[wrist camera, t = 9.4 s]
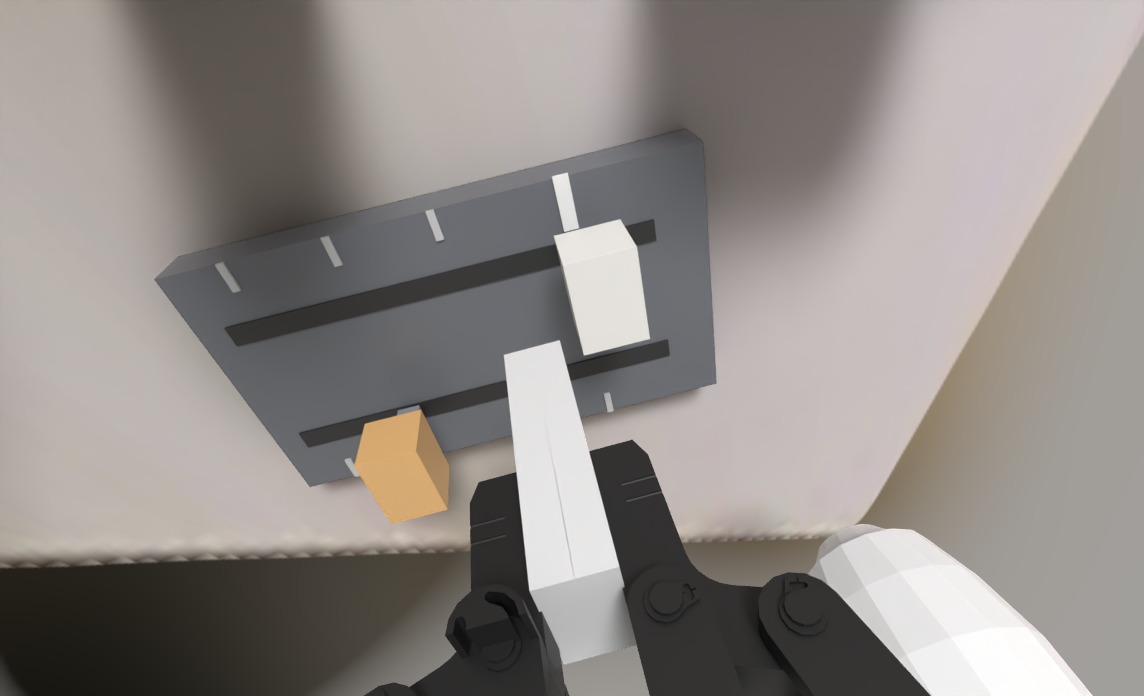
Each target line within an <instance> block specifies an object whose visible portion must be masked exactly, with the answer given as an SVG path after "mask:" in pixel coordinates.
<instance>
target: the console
mask: <svg viewBox="0 0 1144 696" xmlns="http://www.w3.org/2000/svg"><path fill="white" fill-rule="evenodd" d="M619 219H620V220H621V221H622V223H623V225H624V226H625V228H626V230H627V231H628V233H629V235H630V236H631V238H632V240H633V241H634V243H635V244H636V246H637V250H638V257H639V264H640V272H641V279H642V286H643V293H644V300H645V307H646V314H647V321H648V328H649V335H650V339H648V340H644V341H640V342H636V343H632V344H628V345H624V346H620V347H616V348H612V349H608V350H604V351H600V352H596V353H593V354H589V355H585V356H584V354H583V350H582V347H581V343H580V340H579V337H578V333H577V330H576V326H575V323H574V319H573V315H572V311H571V306H570V302H569V298H568V294H567V290H566V285H565V281H564V277H563V273H562V269H561V264H560V260H559V256H558V252H557V248H556V243H555V239H554V236H555V235H559V234H563V233H567V232H571V231H575V230H579V229H583V228H587V227H591V226H595V225H599V224H603V223H607V222H611V221H615V220H619ZM154 280H155V281H156V282H157V284H158V285H159V286H160V288H161V289H162V290H163V292H164V293H165V294H166V296H167V297H168V298H169V300H170V301H171V302H172V304H173V305H174V306H175V308H176V309H177V310H178V312H179V313H180V314H181V316H182V317H183V318H184V320H185V321H186V322H187V324H188V325H189V326H190V328H191V329H192V330H193V332H194V333H195V334H196V336H197V337H198V338H199V340H200V341H201V342H202V344H203V345H204V346H205V348H206V349H207V350H208V352H209V353H210V354H211V356H212V357H213V358H214V360H215V361H216V362H217V364H218V365H219V366H220V368H221V369H222V370H223V372H224V373H225V374H226V376H227V377H228V378H229V380H230V381H231V382H232V384H233V385H234V386H235V388H236V389H237V390H238V392H239V393H240V394H241V396H242V397H243V398H244V400H245V401H246V402H247V404H248V405H249V406H250V408H251V409H252V410H253V412H254V413H255V414H256V416H257V417H258V418H259V420H260V421H261V422H262V424H263V425H264V426H265V428H266V429H267V430H268V432H269V433H270V434H271V436H272V437H273V438H274V440H275V441H276V442H277V444H278V445H279V446H280V448H281V449H282V450H283V452H284V453H285V454H286V456H287V457H288V458H289V460H290V461H291V462H292V464H293V465H294V466H295V468H296V469H297V470H298V472H299V473H300V474H301V476H302V477H303V478H304V480H305V481H306V482H307V484H308V485H309V486H310V487H312V486H316V485H320V484H323V483H327V482H331V481H335V480H339V479H343V478H347V477H351V476H355V477H358V476H360V475H359V473H358V472H357V470H356V469H355V467H354V465H355V461H356V457H357V453H358V449H359V445H360V441H361V437H362V433H363V429H364V425H365V424H366V423H370V422H374V421H378V420H382V419H386V418H390V417H394V416H397V412H398V410H402V409H406V408H410V407H414V406H417V405H419V406H420V408H421V410H422V412H423V414H424V416H425V418H426V420H427V422H428V424H429V426H430V428H431V430H432V432H433V434H434V436H435V438H436V440H437V442H438V444H439V446H440V448H441V450H442V452H443V453H445V452H449V451H453V450H457V449H461V448H465V447H469V446H473V445H477V444H480V443H484V442H488V441H492V440H496V439H500V438H504V437H508V436H512V426H511V416H510V407H509V398H508V389H507V379H506V370H505V361H504V355H505V354H509V353H513V352H517V351H521V350H524V349H528V348H532V347H536V346H539V345H543V344H547V343H551V342H555V341H558V340H560V343H561V347H562V351H563V355H564V358H565V362H566V366H567V370H568V373H569V377H570V381H571V385H572V389H573V392H574V396H575V400H576V404H577V407H578V411H579V415H580V418H583V417H586V416H590V415H594V414H598V413H602V412H606V411H608V413H609V412H613V411H614V409H618V408H622V407H626V406H630V405H634V404H638V403H641V402H645V401H649V400H653V399H657V398H661V397H665V396H669V395H673V394H677V393H681V392H685V391H689V390H692V389H696V388H700V387H704V386H708V385H712V384H716V365H715V347H714V329H713V310H712V292H711V274H710V256H709V237H708V219H707V201H706V182H705V164H704V146H703V140H701V139H700V138H698V137H697V136H696V135H694V134H693V133H691V132H690V131H688V130H687V129H683V130H679V131H675V132H671V133H667V134H663V135H659V136H655V137H651V138H647V139H643V140H639V141H635V142H631V143H627V144H624V145H620V146H616V147H612V148H608V149H604V150H600V151H596V152H592V153H588V154H584V155H580V156H576V157H572V158H568V159H564V160H560V161H556V162H552V163H548V164H544V165H540V166H536V167H532V168H528V169H524V170H520V171H516V172H512V173H508V174H504V175H500V176H496V177H492V178H488V179H485V180H481V181H477V182H473V183H469V184H465V185H461V186H457V187H453V188H449V189H445V190H441V191H437V192H433V193H429V194H425V195H421V196H417V197H413V198H409V199H405V200H401V201H397V202H393V203H389V204H385V205H381V206H377V207H373V208H369V209H365V210H361V211H357V212H353V213H349V214H346V215H342V216H338V217H334V218H330V219H326V220H322V221H318V222H314V223H310V224H306V225H302V226H298V227H294V228H290V229H286V230H282V231H278V232H274V233H270V234H266V235H262V236H258V237H254V238H250V239H246V240H242V241H238V242H234V243H230V244H226V245H222V246H218V247H214V248H210V249H207V250H203V251H199V252H195V253H191V254H187V255H183V256H179V257H178V258H176V259H175V260H174V261H173V262H172V263H171V264H170V265H169V266H168V267H167V268H166V269H165V270H164V271H163V272H162V273H160V274H159V275H158V276H157V277H156V278H155V279H154Z"/></svg>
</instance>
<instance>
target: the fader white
mask: <svg viewBox="0 0 1144 696" xmlns="http://www.w3.org/2000/svg"><path fill="white" fill-rule="evenodd" d="M554 239H555V243H556V248H557V252H558V256H559V260H560V264H561V269H562V273H563V277H564V281H565V285H566V290H567V294H568V298H569V302H570V306H571V311H572V315H573V319H574V323H575V326H576V330H577V333H578V337H579V340H580V343H581V347H582V350H583V354H584V356H585V355H589V354H593V353H596V352H600V351H604V350H608V349H612V348H616V347H620V346H624V345H628V344H632V343H636V342H640V341H644V340H648V339H650V335H649V328H648V321H647V314H646V307H645V300H644V293H643V286H642V279H641V272H640V264H639V257H638V250H637V246H636V244H635V243H634V241H633V240H632V238H631V236H630V235H629V233H628V231H627V230H626V228H625V226H624V225H623V223H622V221H621V220H620V219H619V220H615V221H611V222H607V223H603V224H599V225H595V226H591V227H587V228H583V229H579V230H575V231H571V232H567V233H563V234H559V235H555V236H554Z"/></svg>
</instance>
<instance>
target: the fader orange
mask: <svg viewBox="0 0 1144 696" xmlns="http://www.w3.org/2000/svg"><path fill="white" fill-rule="evenodd" d="M354 467H355V469H356V470H357V472H358V473H359V475H360V477H361V478H362V480H363V481H364V483H365V484H366V486H367V487H368V489H369V490H370V492H371V493H372V495H373V496H374V498H375V499H376V501H377V503H378V504H379V506H380V507H381V509H382V510H383V512H384V513H385V515H386V516H387V518H388V519H389V521H390V522H391V524H394V523H398V522H402V521H406V520H410V519H414V518H417V517H421V516H425V515H429V514H433V513H437V512H441V511H445V510H448V492H449V473H450V466H449V464H448V462H447V460H446V458H445V456H444V454H443V452H442V450H441V448H440V446H439V444H438V442H437V440H436V438H435V436H434V434H433V432H432V430H431V428H430V426H429V424H428V422H427V420H426V418H425V416H424V414H423V412H422V410H421V408H420V406H419V405H417V406H414V407H410V408H406V409H402V410H398V412H397V416H394V417H390V418H386V419H382V420H378V421H374V422H370V423H366V424H365V425H364V429H363V433H362V437H361V441H360V445H359V449H358V453H357V457H356V461H355V465H354Z"/></svg>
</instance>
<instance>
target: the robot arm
mask: <svg viewBox="0 0 1144 696" xmlns="http://www.w3.org/2000/svg"><path fill="white" fill-rule="evenodd" d="M504 361H505V370H506V379H507V389H508V398H509V407H510V416H511V426H512V435H513V444H514V453H515V462H516V472H515V473H512V474H508V475H504V476H500V477H497V478H493V479H489V480H486V481H482V482H479V483H478V485H477V488H476V490H475V493H474V495H473V497H472V500H471V502H470V526H471V529H470V540H471V592H470V593H469V594H467V595H466V596H465V597H464V598H463V599H462V600H461V601H460V602H459V603H458V604H457V606H456V607H455V609H454V611H453V612H452V614H451V616H450V618H449V620H448V624H447V630H446V634H445V636H446V637H447V639H448V640H449V641H450V643H451V644H452V646H453V647H454V648H455V650H456V651H457V652H456V653H455V654H454V655H453V656H452V657H451V659H449V660H448V661H447V662H446V663H444V664H443V665H442V666H441V667H440V668H438V669H436V670H435V671H433V672H432V673H430V674H429V675H427V676H426V677H424V678H423V679H421V680H420V681H418V682H416V683H415V684H414V685H412V686H410V687H408V686H406V685H401V684H397V683H390V684H386V685H382V686H378V687H377V688H375V689H374V690H372V691H371V692H369V693H367V694H366V695H364V696H569V694H568V691H567V688H566V686H565V684H564V678H563V671H562V664H561V659H562V661H563V663H564V665H565V664H569V663H572V662H576V661H580V660H583V659H587V658H591V657H594V656H598V655H602V654H605V653H609V652H612V651H616V650H619V649H623V648H627V647H631V646H634V645H637V647H638V651H639V655H640V659H641V663H642V667H643V670H644V675H645V678H646V683H647V686H648V690H649V694H650V696H931V695H930V694H929V693H928V692H927V691H926V690H925V689H924V688H923V686H922V685H921V684H920V683H919V682H918V681H917V680H916V679H915V678H914V677H913V675H912V674H911V673H910V672H909V671H908V670H907V669H906V668H905V667H904V666H903V664H902V663H901V662H900V661H899V660H898V659H897V658H896V657H895V656H894V655H893V654H892V652H891V651H890V650H889V649H888V648H887V647H886V646H885V645H884V644H883V643H882V641H881V640H880V639H879V638H878V637H877V636H876V635H875V634H874V633H873V632H872V630H871V629H870V628H869V627H868V626H867V625H866V624H865V623H864V622H863V621H862V620H861V618H860V617H859V616H858V615H857V614H856V613H855V612H854V611H853V610H852V609H851V607H850V606H849V605H848V604H847V603H846V602H845V601H844V600H843V599H842V598H841V596H840V595H839V594H838V593H837V592H836V591H835V590H833V589H832V588H831V587H830V586H828V585H827V584H826V583H825V582H823V581H822V580H820V579H818V578H815V577H813V576H810V575H808V574H805V573H789V572H788V573H785V574H782V575H779V576H776V577H773V578H772V579H771V580H770V581H769V582H768V583H767V584H766V585H765V586H763V587H751V586H735V585H728V584H723V583H719V582H716V581H714V580H712V579H709V578H708V577H706V576H705V575H703V574H702V573H700V572H699V571H698V570H697V569H696V568H695V567H694V566H693V564H692V563H691V562H690V560H689V558H688V556H687V555H686V553H685V550H684V548H683V545H682V542H681V540H680V537H679V534H678V532H677V529H676V527H675V524H674V521H673V519H672V516H671V514H670V511H669V508H668V506H667V503H666V501H665V498H664V495H663V494H662V490H661V487H660V485H659V482H658V480H657V478H656V475H655V472H654V469H653V467H652V464H651V461H650V459H649V456H648V454H647V453H646V452H645V451H644V450H643V449H642V448H640V447H639V446H638V445H637V444H636V443H635V442H634V441H633V440H630V441H626V442H622V443H618V444H615V445H611V446H607V447H604V448H600V449H596V450H592V451H589V449H588V445H587V441H586V438H585V434H584V430H583V426H582V423H581V419H580V415H579V411H578V407H577V404H576V400H575V396H574V392H573V389H572V385H571V381H570V377H569V373H568V370H567V366H566V362H565V358H564V355H563V351H562V347H561V343H560V340H558V341H555V342H551V343H547V344H543V345H539V346H536V347H532V348H528V349H524V350H521V351H517V352H513V353H509V354H505V355H504Z"/></svg>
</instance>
